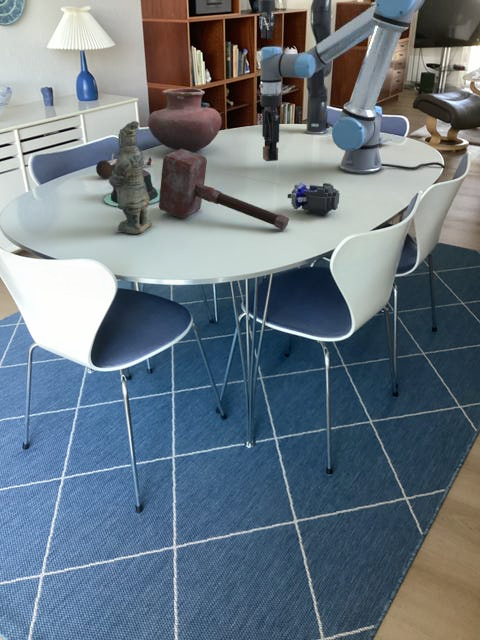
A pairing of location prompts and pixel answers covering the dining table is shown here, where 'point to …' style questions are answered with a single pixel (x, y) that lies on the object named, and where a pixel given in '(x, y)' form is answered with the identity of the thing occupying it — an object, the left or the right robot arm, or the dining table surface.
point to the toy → (315, 198)
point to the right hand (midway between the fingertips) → (270, 158)
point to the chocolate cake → (152, 192)
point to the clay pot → (185, 121)
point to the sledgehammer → (200, 190)
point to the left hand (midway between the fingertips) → (266, 38)
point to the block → (266, 153)
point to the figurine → (110, 167)
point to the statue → (131, 182)
